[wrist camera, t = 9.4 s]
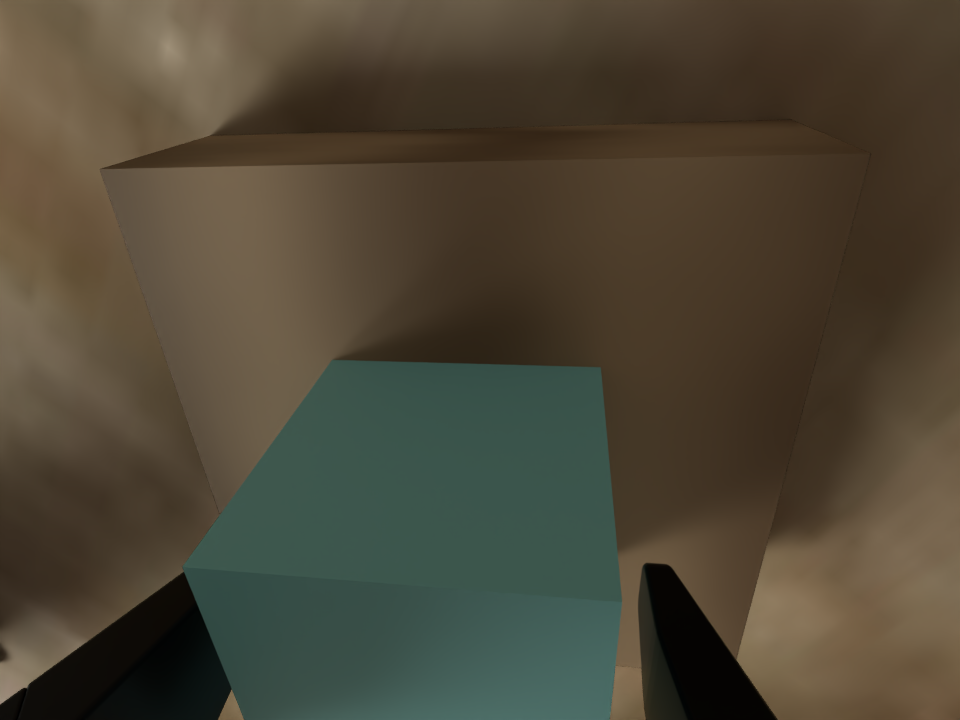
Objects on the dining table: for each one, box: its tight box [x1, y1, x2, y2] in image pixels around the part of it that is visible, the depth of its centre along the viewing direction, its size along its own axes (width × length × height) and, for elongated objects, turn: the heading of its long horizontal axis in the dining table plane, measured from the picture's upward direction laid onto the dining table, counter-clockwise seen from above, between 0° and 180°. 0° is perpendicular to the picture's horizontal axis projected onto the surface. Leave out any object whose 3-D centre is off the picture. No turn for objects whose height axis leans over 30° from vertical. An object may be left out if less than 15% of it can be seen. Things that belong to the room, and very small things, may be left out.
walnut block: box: [100, 120, 871, 668], centre depth 14 cm, size 12×12×4 cm
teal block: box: [182, 360, 622, 720], centre depth 10 cm, size 5×5×5 cm
